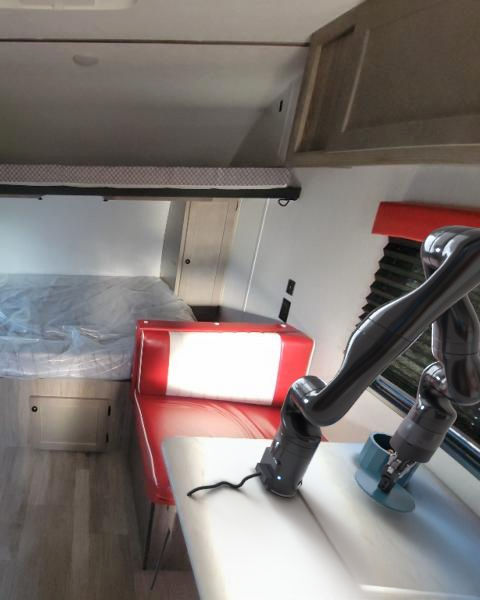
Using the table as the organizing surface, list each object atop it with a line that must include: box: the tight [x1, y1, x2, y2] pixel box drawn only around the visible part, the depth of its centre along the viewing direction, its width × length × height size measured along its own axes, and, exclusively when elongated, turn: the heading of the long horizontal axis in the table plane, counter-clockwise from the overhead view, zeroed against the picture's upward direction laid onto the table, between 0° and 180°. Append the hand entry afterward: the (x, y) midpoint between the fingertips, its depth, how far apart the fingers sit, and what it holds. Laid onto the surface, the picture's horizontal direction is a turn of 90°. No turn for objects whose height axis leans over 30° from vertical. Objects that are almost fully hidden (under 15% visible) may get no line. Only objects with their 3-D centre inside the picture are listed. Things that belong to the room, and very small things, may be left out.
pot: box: [356, 431, 421, 488], centre depth 99 cm, size 12×12×10 cm
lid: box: [353, 468, 416, 514], centre depth 88 cm, size 13×13×6 cm
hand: (384, 487), depth 88 cm, fingers closed on lid, 2 cm apart
